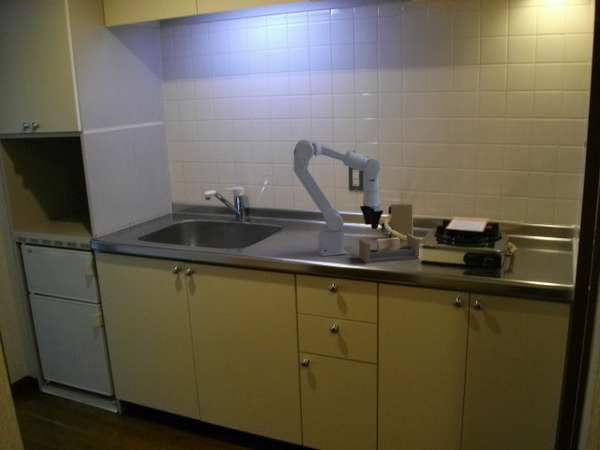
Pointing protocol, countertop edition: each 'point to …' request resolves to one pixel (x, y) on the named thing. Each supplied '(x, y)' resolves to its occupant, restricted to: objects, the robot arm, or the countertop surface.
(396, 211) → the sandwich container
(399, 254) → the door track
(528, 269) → the countertop surface
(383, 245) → the door panel
